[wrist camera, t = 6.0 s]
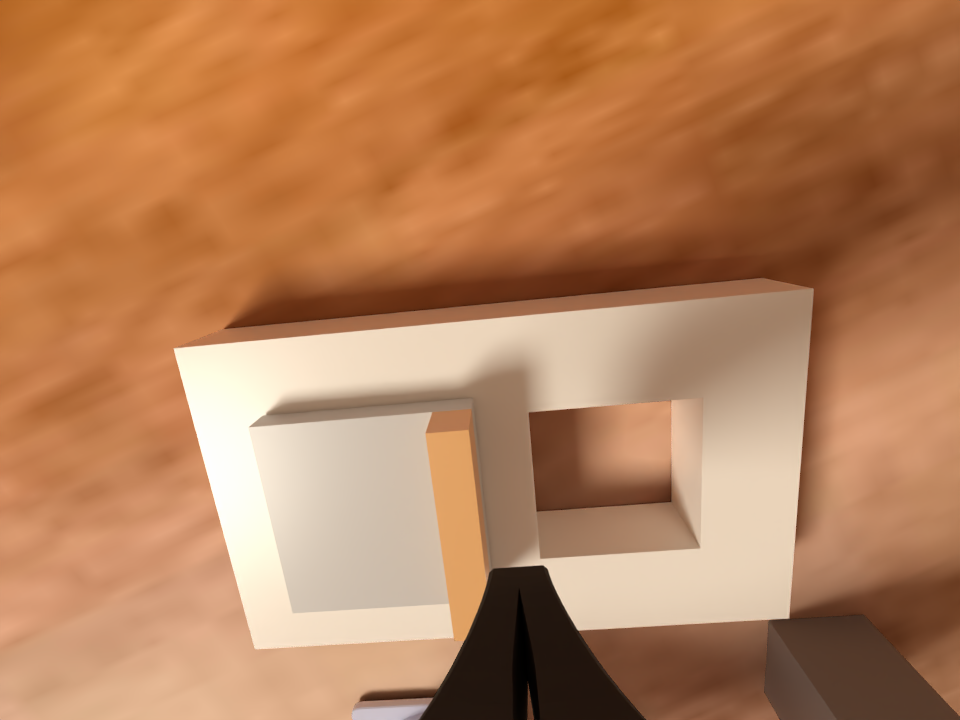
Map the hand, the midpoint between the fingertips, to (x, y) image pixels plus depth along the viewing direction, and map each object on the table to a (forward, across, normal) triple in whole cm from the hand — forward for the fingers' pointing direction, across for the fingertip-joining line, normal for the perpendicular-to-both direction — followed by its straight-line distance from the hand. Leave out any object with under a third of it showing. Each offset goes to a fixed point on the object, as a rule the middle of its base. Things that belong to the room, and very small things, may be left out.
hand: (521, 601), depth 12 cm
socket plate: (+8, 0, 0) cm, 8 cm away
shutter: (+5, +5, 0) cm, 7 cm away
